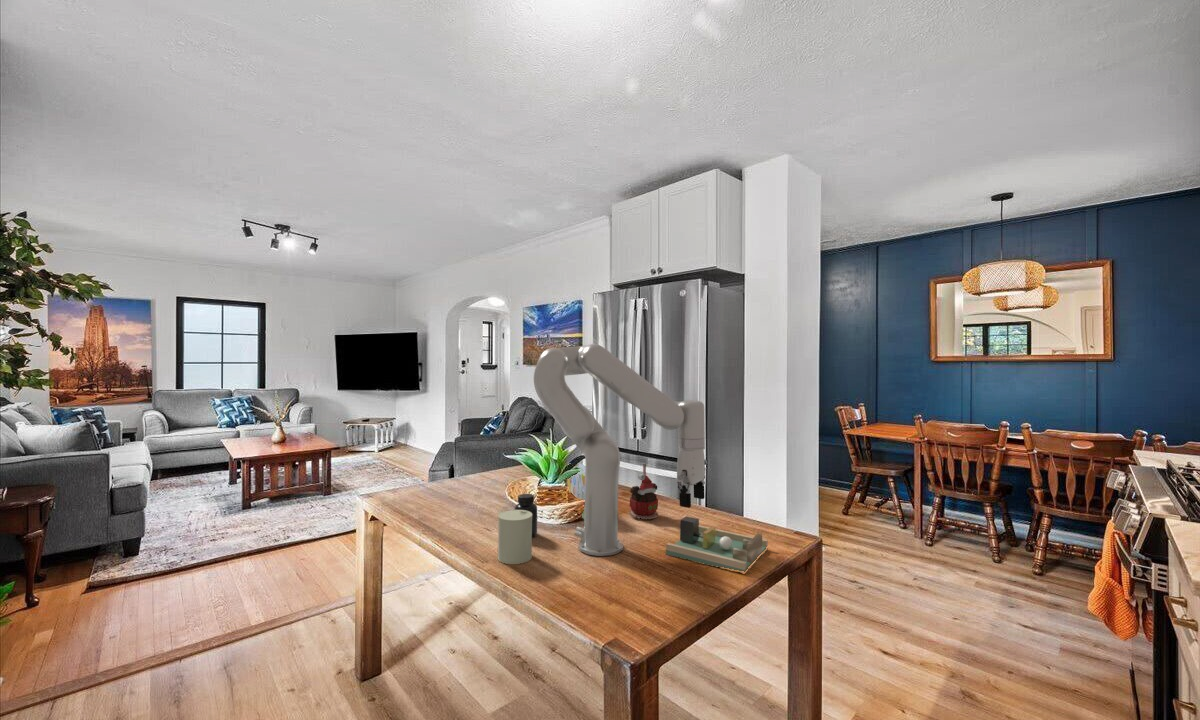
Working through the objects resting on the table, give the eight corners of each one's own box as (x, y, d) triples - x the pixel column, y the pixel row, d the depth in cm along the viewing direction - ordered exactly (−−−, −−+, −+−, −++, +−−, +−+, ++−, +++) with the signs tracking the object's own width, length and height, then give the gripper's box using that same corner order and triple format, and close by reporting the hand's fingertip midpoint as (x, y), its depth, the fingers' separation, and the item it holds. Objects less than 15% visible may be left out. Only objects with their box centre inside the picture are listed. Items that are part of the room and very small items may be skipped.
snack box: (601, 520, 166) (601, 474, 166) (585, 522, 164) (585, 476, 164) (579, 502, 186) (580, 462, 186) (565, 503, 184) (566, 463, 184)
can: (539, 556, 136) (539, 511, 136) (515, 567, 128) (516, 520, 128) (514, 548, 141) (515, 505, 141) (490, 558, 133) (490, 514, 133)
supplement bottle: (539, 531, 154) (539, 493, 154) (534, 539, 148) (534, 499, 147) (517, 530, 155) (518, 492, 155) (511, 538, 148) (512, 498, 148)
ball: (717, 550, 138) (717, 537, 138) (721, 546, 141) (722, 533, 141) (729, 553, 136) (730, 540, 136) (734, 549, 139) (734, 536, 139)
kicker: (678, 541, 143) (678, 520, 143) (687, 535, 149) (687, 515, 149) (706, 548, 139) (707, 527, 139) (715, 541, 144) (715, 520, 144)
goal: (732, 558, 133) (733, 540, 133) (744, 547, 141) (744, 530, 141) (751, 562, 130) (751, 544, 130) (761, 551, 138) (762, 534, 138)
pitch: (665, 554, 138) (666, 544, 138) (695, 533, 155) (695, 524, 155) (744, 574, 126) (744, 563, 126) (767, 549, 142) (767, 540, 142)
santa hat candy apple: (646, 510, 177) (647, 459, 177) (664, 517, 170) (665, 464, 170) (622, 515, 172) (623, 462, 171) (639, 523, 164) (640, 468, 164)
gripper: (691, 438, 154) (692, 493, 154) (666, 447, 140) (667, 508, 140) (715, 440, 150) (715, 497, 150) (691, 449, 136) (692, 512, 136)
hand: (692, 502), depth 145 cm, fingers open, 9 cm apart
